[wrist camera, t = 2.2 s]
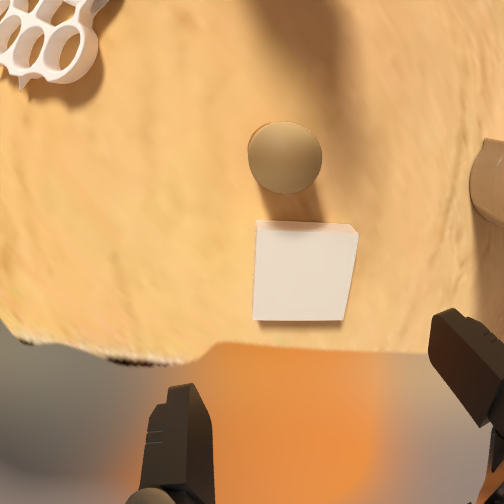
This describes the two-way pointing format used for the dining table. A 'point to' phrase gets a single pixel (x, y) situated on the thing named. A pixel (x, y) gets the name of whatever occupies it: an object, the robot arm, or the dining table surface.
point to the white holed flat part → (47, 39)
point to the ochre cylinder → (284, 157)
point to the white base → (302, 270)
